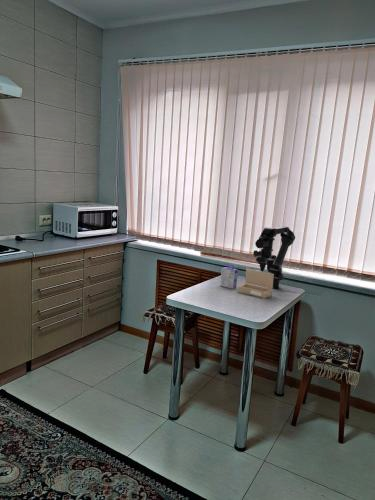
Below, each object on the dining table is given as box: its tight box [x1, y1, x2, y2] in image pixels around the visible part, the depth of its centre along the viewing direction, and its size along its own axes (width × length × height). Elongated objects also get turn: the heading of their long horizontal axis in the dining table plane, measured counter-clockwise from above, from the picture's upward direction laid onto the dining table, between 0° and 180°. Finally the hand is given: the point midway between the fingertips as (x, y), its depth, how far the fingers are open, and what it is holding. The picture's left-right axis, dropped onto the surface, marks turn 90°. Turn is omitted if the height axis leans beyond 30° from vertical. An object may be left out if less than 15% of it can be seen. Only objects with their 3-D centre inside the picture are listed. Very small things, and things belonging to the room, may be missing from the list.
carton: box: [237, 283, 273, 300], centre depth 239 cm, size 10×18×4 cm, turn 54°
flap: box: [244, 268, 274, 290], centre depth 243 cm, size 9×18×7 cm
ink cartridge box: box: [219, 263, 239, 289], centre depth 251 cm, size 10×6×14 cm, turn 57°
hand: (264, 271), depth 247 cm, fingers open, 9 cm apart
